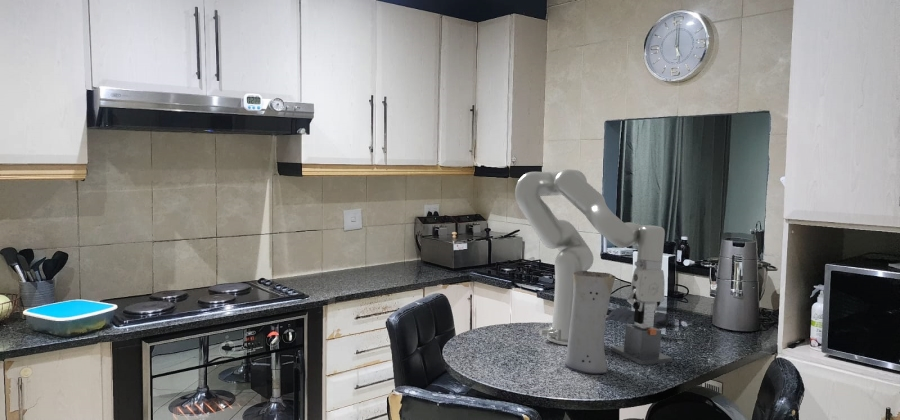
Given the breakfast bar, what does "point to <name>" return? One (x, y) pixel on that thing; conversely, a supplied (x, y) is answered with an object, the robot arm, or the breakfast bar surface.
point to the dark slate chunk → (628, 317)
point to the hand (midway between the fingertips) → (644, 321)
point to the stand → (642, 346)
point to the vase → (589, 322)
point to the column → (647, 316)
